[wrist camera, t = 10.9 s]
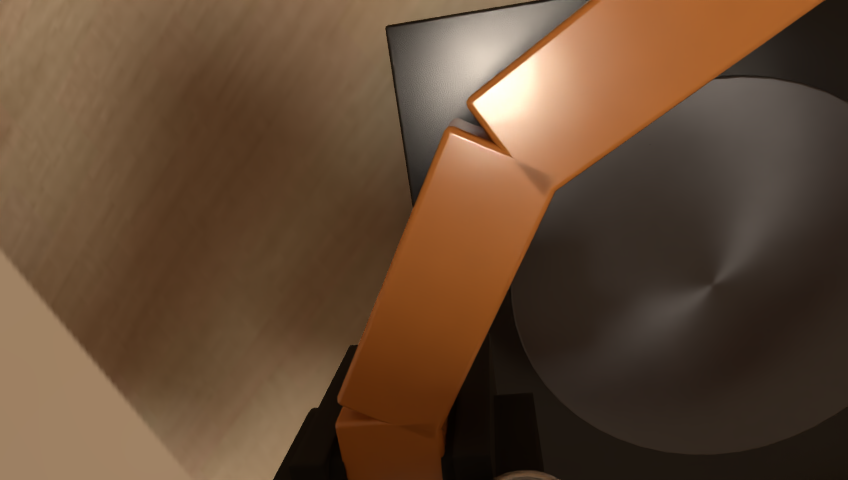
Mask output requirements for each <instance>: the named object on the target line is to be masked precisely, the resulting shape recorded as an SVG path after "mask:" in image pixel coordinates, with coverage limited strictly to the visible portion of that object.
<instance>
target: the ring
mask: <svg viewBox="0 0 848 480" xmlns="http://www.w3.org/2000/svg"><path fill="white" fill-rule="evenodd" d="M824 1H825V0H589V1H588V2H587V3H585V4H584V5H583V6H582V7H580V8H579V9H578V10H577V11H575V12H574V13H573V14H572V15H570V16H569V17H568V18H567V19H565V20H564V21H563V22H562V23H560V24H559V25H558V26H556V27H555V28H554V29H553V30H551V31H550V32H549V33H548V34H546V35H545V36H544V37H543V38H541V39H540V40H539V41H538V42H536V43H535V44H534V45H533V46H531V47H530V48H529V49H528V50H526V51H525V52H524V53H523V54H521V55H520V56H519V57H518V58H516V59H515V60H514V61H513V62H511V63H510V64H509V65H508V66H506V67H505V68H504V69H503V70H501V71H500V72H499V73H498V74H496V75H495V76H494V77H493V78H491V79H490V80H489V81H487V82H486V83H485V84H484V85H482V86H481V87H480V88H479V89H477V90H476V91H475V92H474V93H472V94H471V95H470V97H469V98H468V100H467V102H466V103H467V107H468V109H469V110H470V111H471V113H472V114H473V115H474V117H475V118H476V119H477V121H478V122H479V123H480V125H481V126H482V127H483V128H481V127H478V126H476V125H474V124H471V123H469V122H466V121H464V120H462V119H459V118H454V119H453V120H452V121H451V123H450V124H449V125H448V126H447V128H446V129H445V130H444V133H443V135H442V138H441V140H440V143H439V145H438V148H437V150H436V153H435V155H434V157H433V160H432V162H431V165H430V167H429V170H428V172H427V175H426V177H425V180H424V182H423V185H422V187H421V190H420V192H419V195H418V197H417V200H416V202H415V205H414V207H413V210H412V212H411V215H410V217H409V220H408V222H407V225H406V227H405V230H404V232H403V235H402V237H401V240H400V242H399V245H398V247H397V250H396V252H395V255H394V257H393V260H392V262H391V265H390V267H389V269H388V272H387V274H386V277H385V279H384V282H383V284H382V287H381V289H380V292H379V294H378V297H377V299H376V302H375V304H374V307H373V309H372V312H371V314H370V317H369V319H368V322H367V324H366V327H365V329H364V332H363V334H362V337H361V339H360V342H359V344H358V347H357V349H356V352H355V354H354V357H353V359H352V362H351V364H350V367H349V369H348V372H347V374H346V377H345V379H344V382H343V384H342V386H341V389H340V391H339V394H338V396H337V399H338V403H339V404H340V405H342V406H343V407H342V409H341V412H340V414H339V416H338V419H337V421H336V424H335V429H336V433H337V438H338V443H339V447H340V452H341V457H342V461H343V462H344V465H345V470H346V475H347V480H443V478H442V469H441V457H443V456H444V453H445V445H446V436H447V427H448V418H449V413H450V410H451V408H452V406H453V404H454V402H455V400H456V398H457V396H458V394H459V392H460V390H461V388H462V386H463V383H464V381H465V379H466V377H467V375H468V373H469V371H470V369H471V367H472V365H473V363H474V361H475V358H476V356H477V354H478V352H479V350H480V348H481V346H482V344H483V342H484V340H485V338H486V336H487V334H488V331H489V329H490V327H491V325H492V323H493V321H494V319H495V317H496V315H497V313H498V311H499V309H500V306H501V304H502V302H503V300H504V298H505V296H506V294H507V292H508V290H509V288H510V286H511V284H512V282H513V279H514V277H515V275H516V273H517V271H518V269H519V267H520V265H521V263H522V261H523V259H524V257H525V255H526V252H527V250H528V248H529V246H530V244H531V242H532V240H533V238H534V236H535V234H536V232H537V230H538V227H539V225H540V223H541V221H542V219H543V217H544V215H545V213H546V211H547V209H548V207H549V205H550V203H551V200H552V198H553V196H554V194H555V192H556V191H557V190H558V189H560V188H561V187H563V186H564V185H565V184H567V183H568V182H570V181H571V180H572V179H574V178H575V177H577V176H578V175H580V174H581V173H582V172H584V171H585V170H587V169H588V168H589V167H591V166H592V165H594V164H595V163H596V162H598V161H599V160H601V159H602V158H603V157H605V156H606V155H608V154H609V153H611V152H612V151H613V150H615V149H616V148H618V147H619V146H620V145H622V144H623V143H625V142H626V141H627V140H629V139H630V138H632V137H633V136H635V135H636V134H637V133H639V132H640V131H642V130H643V129H644V128H646V127H647V126H649V125H650V124H651V123H653V122H654V121H656V120H657V119H658V118H660V117H661V116H663V115H664V114H666V113H667V112H668V111H670V110H671V109H673V108H674V107H675V106H677V105H678V104H680V103H681V102H682V101H684V100H685V99H687V98H688V97H690V96H691V95H692V94H694V93H695V92H697V91H698V90H699V89H701V88H702V87H704V86H705V85H706V84H708V83H709V82H711V81H712V80H713V79H715V78H716V77H718V76H719V75H721V74H722V73H723V72H725V71H726V70H728V69H729V68H730V67H732V66H733V65H735V64H736V63H737V62H739V61H740V60H742V59H743V58H745V57H746V56H747V55H749V54H750V53H752V52H753V51H754V50H756V49H757V48H759V47H760V46H761V45H763V44H764V43H766V42H767V41H769V40H770V39H771V38H773V37H774V36H776V35H777V34H778V33H780V32H781V31H783V30H784V29H785V28H787V27H788V26H790V25H791V24H792V23H794V22H795V21H797V20H798V19H800V18H801V17H802V16H804V15H805V14H807V13H808V12H809V11H811V10H812V9H814V8H815V7H816V6H818V5H819V4H821V3H822V2H824Z"/></svg>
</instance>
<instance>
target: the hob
mask: <svg viewBox="0 0 848 480" xmlns="http://www.w3.org/2000/svg"><path fill="white" fill-rule="evenodd" d="M588 1H589V0H536V1H530V2H524V3H518V4H513V5H507V6H501V7H495V8H489V9H483V10H477V11H471V12H465V13H459V14H453V15H447V16H441V17H435V18H429V19H423V20H417V21H411V22H405V23H399V24H393V25H388V26H386V28H385V30H386V36H387V43H388V49H389V56H390V62H391V69H392V75H393V82H394V88H395V95H396V101H397V108H398V114H399V121H400V127H401V134H402V140H403V147H404V153H405V160H406V167H407V173H408V180H409V186H410V193H411V199H412V206H413V207H414V205H415V202H416V200H417V197H418V195H419V192H420V190H421V187H422V185H423V182H424V180H425V177H426V175H427V172H428V170H429V167H430V165H431V162H432V160H433V157H434V155H435V153H436V150H437V148H438V145H439V143H440V140H441V138H442V135H443V133H444V130H445V129H446V128H447V126H448V125H449V124H450V123H451V121H452V120H453V119H454V118H459V119H462V120H464V121H466V122H469V123H471V124H474V125H476V126H478V127H481V128H483V127H482V126H481V125H480V123H479V122H478V121H477V119H476V118H475V117H474V115H473V114H472V113H471V111H470V110H469V109H468V107H467V103H466V102H467V100H468V98H469V97H470V95H471V94H472V93H474V92H475V91H476V90H477V89H479V88H480V87H481V86H482V85H484V84H485V83H486V82H487V81H489V80H490V79H491V78H493V77H494V76H495V75H496V74H498V73H499V72H500V71H501V70H503V69H504V68H505V67H506V66H508V65H509V64H510V63H511V62H513V61H514V60H515V59H516V58H518V57H519V56H520V55H521V54H523V53H524V52H525V51H526V50H528V49H529V48H530V47H531V46H533V45H534V44H535V43H536V42H538V41H539V40H540V39H541V38H543V37H544V36H545V35H546V34H548V33H549V32H550V31H551V30H553V29H554V28H555V27H556V26H558V25H559V24H560V23H562V22H563V21H564V20H565V19H567V18H568V17H569V16H570V15H572V14H573V13H574V12H575V11H577V10H578V9H579V8H580V7H582V6H583V5H584V4H585V3H587V2H588ZM488 333H489V335H490V341H491V349H492V357H493V365H494V373H495V381H496V389H497V395H504V394H518V393H533V398H534V405H535V411H536V418H537V425H538V432H539V438H540V445H541V452H542V459H543V466H544V472H545V473H548V474H550V475H552V476H554V477H556V478H558V479H560V480H848V0H825V1H824V2H822V3H821V4H819V5H818V6H816V7H815V8H814V9H812V10H811V11H809V12H808V13H807V14H805V15H804V16H802V17H801V18H800V19H798V20H797V21H795V22H794V23H792V24H791V25H790V26H788V27H787V28H785V29H784V30H783V31H781V32H780V33H778V34H777V35H776V36H774V37H773V38H771V39H770V40H769V41H767V42H766V43H764V44H763V45H761V46H760V47H759V48H757V49H756V50H754V51H753V52H752V53H750V54H749V55H747V56H746V57H745V58H743V59H742V60H740V61H739V62H737V63H736V64H735V65H733V66H732V67H730V68H729V69H728V70H726V71H725V72H723V73H722V74H721V75H719V76H718V77H716V78H715V79H713V80H712V81H711V82H709V83H708V84H706V85H705V86H704V87H702V88H701V89H699V90H698V91H697V92H695V93H694V94H692V95H691V96H690V97H688V98H687V99H685V100H684V101H682V102H681V103H680V104H678V105H677V106H675V107H674V108H673V109H671V110H670V111H668V112H667V113H666V114H664V115H663V116H661V117H660V118H658V119H657V120H656V121H654V122H653V123H651V124H650V125H649V126H647V127H646V128H644V129H643V130H642V131H640V132H639V133H637V134H636V135H635V136H633V137H632V138H630V139H629V140H627V141H626V142H625V143H623V144H622V145H620V146H619V147H618V148H616V149H615V150H613V151H612V152H611V153H609V154H608V155H606V156H605V157H603V158H602V159H601V160H599V161H598V162H596V163H595V164H594V165H592V166H591V167H589V168H588V169H587V170H585V171H584V172H582V173H581V174H580V175H578V176H577V177H575V178H574V179H572V180H571V181H570V182H568V183H567V184H565V185H564V186H563V187H561V188H560V189H558V190H557V191H556V192H555V194H554V196H553V198H552V200H551V203H550V205H549V207H548V209H547V211H546V213H545V215H544V217H543V219H542V221H541V223H540V225H539V227H538V230H537V232H536V234H535V236H534V238H533V240H532V242H531V244H530V246H529V248H528V250H527V252H526V255H525V257H524V259H523V261H522V263H521V265H520V267H519V269H518V271H517V273H516V275H515V277H514V279H513V282H512V284H511V286H510V288H509V290H508V292H507V294H506V296H505V298H504V300H503V302H502V304H501V306H500V309H499V311H498V313H497V315H496V317H495V319H494V321H493V323H492V325H491V327H490V329H489V331H488Z"/></svg>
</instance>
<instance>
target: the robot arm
mask: <svg viewBox="0 0 848 480" xmlns="http://www.w3.org/2000/svg"><path fill="white" fill-rule="evenodd" d="M357 347H358V345H350V347H349V348H348V350H347V352H346V354H345V356H344V358H343V360H342V362H341V364H340V366H339V368H338V370H337V372H336V374H335V376H334V378H333V380H332V382H331V384H330V386H329V388H328V389H327V391H326V393H325V395H324V397H323V399H322V401H321V403H320V405H319V407H318V408H313V409H311V410H310V412H309V413H308V415H307V416H306V418H305V420H304V422H303V424H302V426H301V428H300V430H299V432H298V434H297V435H296V437H295V439H294V441H293V443H292V445H291V447H290V449H289V451H288V452H287V454H286V456H285V458H284V460H283V462H282V464H281V466H280V468H279V469H278V471H277V473H276V475H275V477H274V479H273V480H347V475H346V470H345V465H344V462H343V461H342V457H341V452H340V447H339V443H338V438H337V433H336V429H335V424H336V421H337V419H338V416H339V414H340V412H341V409H342V407H343V406H342V405H340V404H339V403H338V399H337V396H338V394H339V391H340V389H341V386H342V384H343V382H344V379H345V377H346V374H347V372H348V369H349V367H350V364H351V362H352V359H353V357H354V354H355V352H356V349H357ZM441 469H442V478H443V480H560V479H558V478H556V477H554V476H552V475H550V474H548V473H545V472H544V466H543V459H542V452H541V445H540V438H539V432H538V425H537V418H536V411H535V405H534V398H533V393H518V394H504V395H497V389H496V381H495V373H494V365H493V357H492V349H491V341H490V335H489V333H488V334H487V336H486V338H485V340H484V342H483V344H482V346H481V348H480V350H479V352H478V354H477V356H476V358H475V361H474V363H473V365H472V367H471V369H470V371H469V373H468V375H467V377H466V379H465V381H464V383H463V386H462V388H461V390H460V392H459V394H458V396H457V398H456V400H455V402H454V404H453V406H452V408H451V410H450V413H449V418H448V427H447V436H446V445H445V453H444V456H443V457H441Z"/></svg>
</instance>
